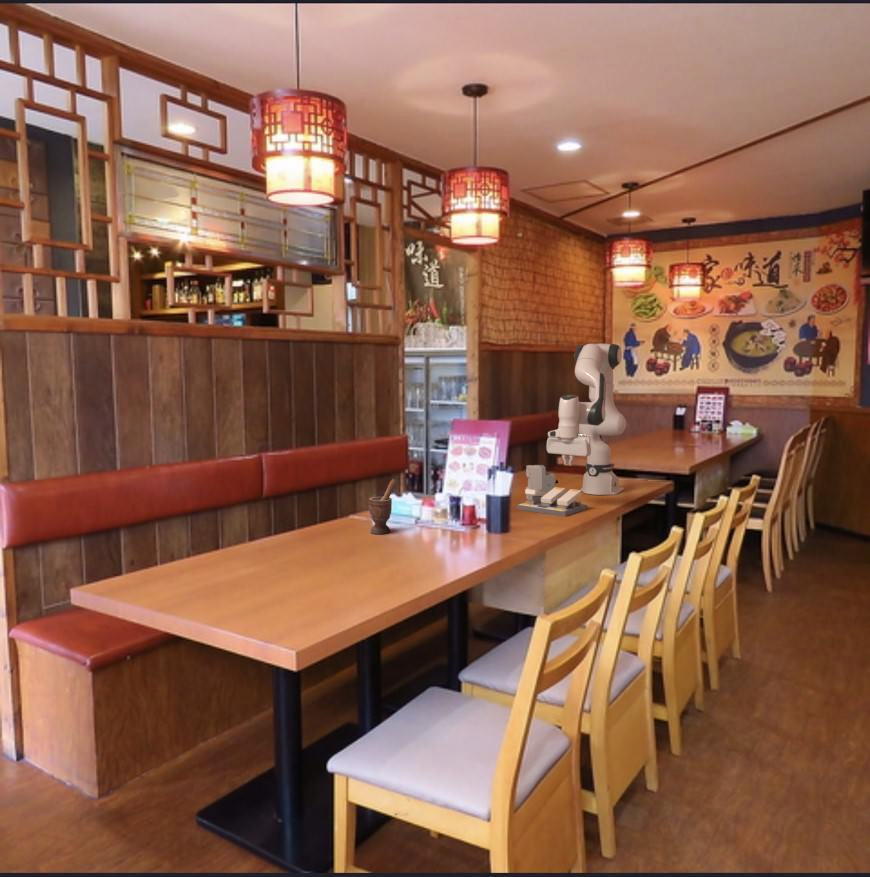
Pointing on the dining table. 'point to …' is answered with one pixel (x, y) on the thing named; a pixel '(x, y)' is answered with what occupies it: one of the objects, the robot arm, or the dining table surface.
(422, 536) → the dining table surface
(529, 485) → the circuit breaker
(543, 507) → the switch unit
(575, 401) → the robot arm
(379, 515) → the mortar and pestle
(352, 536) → the dining table surface
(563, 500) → the block
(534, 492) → the block
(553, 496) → the rocker
